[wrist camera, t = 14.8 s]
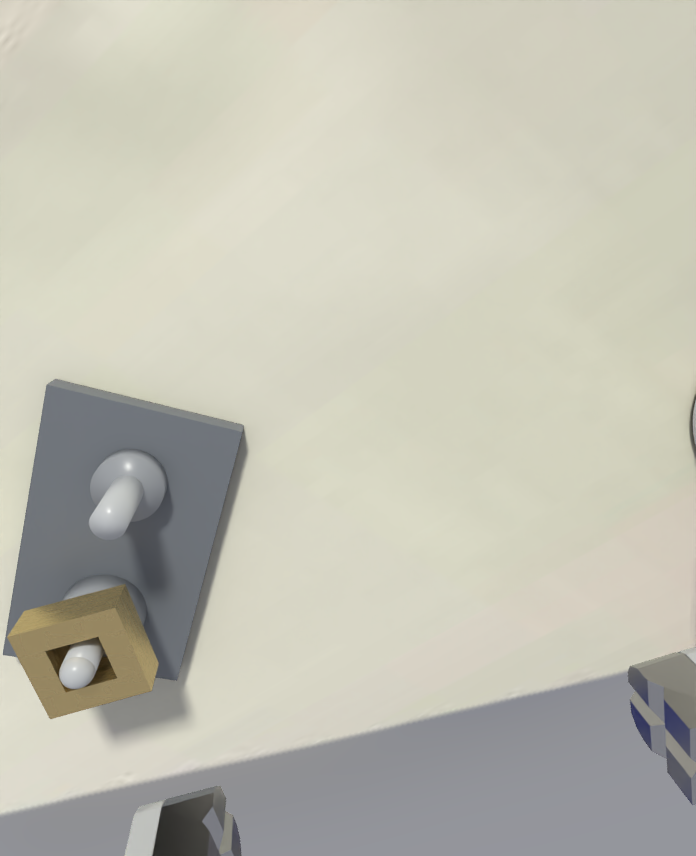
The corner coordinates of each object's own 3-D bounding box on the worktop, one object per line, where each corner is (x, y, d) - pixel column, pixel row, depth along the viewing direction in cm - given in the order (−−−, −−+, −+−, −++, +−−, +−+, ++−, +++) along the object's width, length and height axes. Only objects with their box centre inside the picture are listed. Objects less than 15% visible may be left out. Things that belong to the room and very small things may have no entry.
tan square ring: (125, 583, 36) (115, 607, 34) (158, 663, 38) (151, 690, 36) (24, 610, 36) (6, 636, 34) (63, 689, 38) (50, 719, 36)
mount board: (243, 425, 39) (236, 473, 31) (179, 666, 44) (160, 761, 36) (55, 379, 36) (-6, 418, 28) (11, 640, 42) (-50, 736, 34)
